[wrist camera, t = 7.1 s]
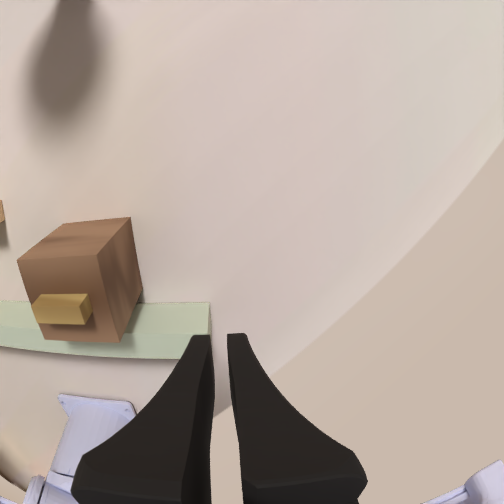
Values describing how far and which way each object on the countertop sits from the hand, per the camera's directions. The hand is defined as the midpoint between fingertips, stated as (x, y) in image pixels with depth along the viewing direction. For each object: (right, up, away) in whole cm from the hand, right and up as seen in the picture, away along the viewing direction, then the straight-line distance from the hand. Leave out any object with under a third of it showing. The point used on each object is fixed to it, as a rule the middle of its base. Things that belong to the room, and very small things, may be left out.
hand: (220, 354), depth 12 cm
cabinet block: (-9, +4, +8) cm, 12 cm away
